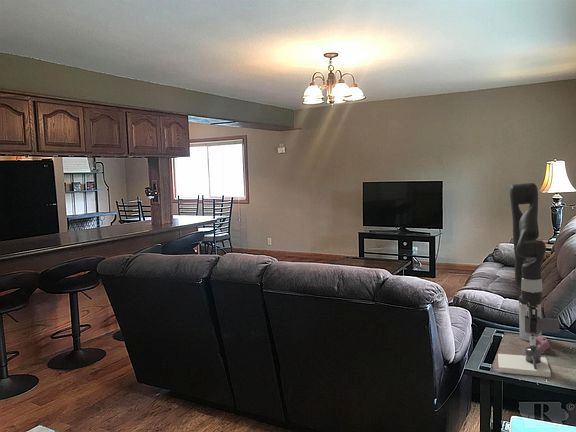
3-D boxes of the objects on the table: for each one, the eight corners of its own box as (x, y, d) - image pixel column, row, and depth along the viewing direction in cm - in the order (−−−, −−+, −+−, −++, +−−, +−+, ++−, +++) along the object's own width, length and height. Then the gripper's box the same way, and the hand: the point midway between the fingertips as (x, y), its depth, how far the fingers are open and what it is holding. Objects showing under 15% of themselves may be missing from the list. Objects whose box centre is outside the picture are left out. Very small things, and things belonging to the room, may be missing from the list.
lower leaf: (525, 357, 191) (524, 331, 190) (540, 359, 189) (539, 332, 188) (527, 368, 181) (526, 340, 180) (543, 369, 179) (542, 342, 178)
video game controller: (545, 357, 199) (553, 343, 198) (535, 352, 200) (542, 338, 199) (537, 349, 209) (544, 335, 208) (527, 344, 209) (535, 331, 208)
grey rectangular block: (524, 329, 190) (523, 314, 190) (558, 331, 186) (557, 316, 185) (525, 333, 185) (525, 318, 185) (560, 335, 180) (560, 320, 180)
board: (497, 358, 197) (497, 353, 197) (545, 362, 190) (545, 357, 190) (499, 372, 183) (499, 367, 183) (550, 377, 176) (550, 372, 176)
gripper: (519, 284, 193) (520, 324, 195) (522, 293, 180) (523, 335, 181) (540, 285, 190) (540, 325, 192) (544, 293, 177) (545, 336, 178)
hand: (532, 329), depth 187 cm, fingers closed on grey rectangular block, 5 cm apart
